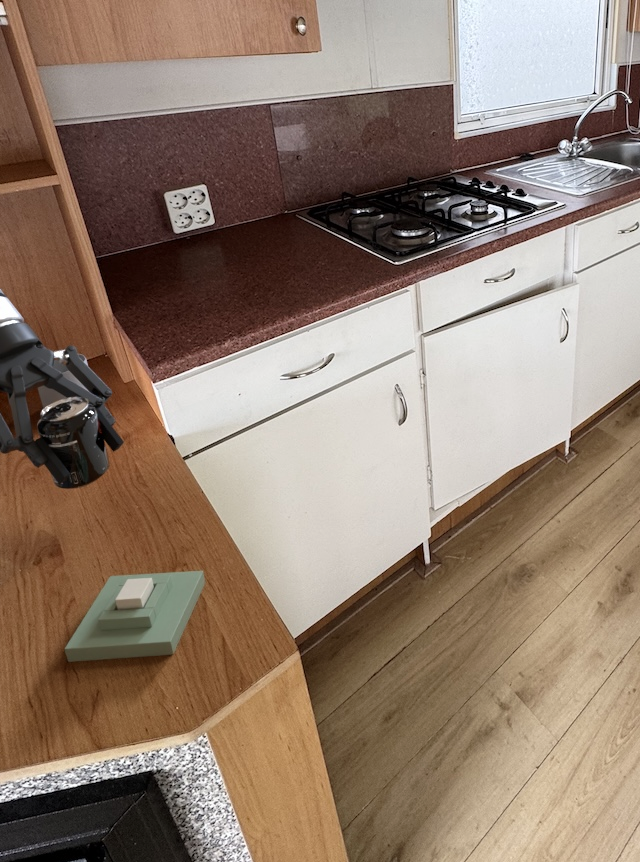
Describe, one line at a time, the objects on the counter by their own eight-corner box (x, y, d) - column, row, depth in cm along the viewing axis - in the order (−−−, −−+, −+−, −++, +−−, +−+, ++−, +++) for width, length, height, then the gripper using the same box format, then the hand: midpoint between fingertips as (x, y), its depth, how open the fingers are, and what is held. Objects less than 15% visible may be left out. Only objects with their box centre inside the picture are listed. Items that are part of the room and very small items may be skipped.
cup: (104, 394, 120) (93, 352, 117) (84, 418, 113) (73, 373, 109) (59, 397, 119) (47, 355, 116) (36, 422, 111) (22, 377, 108)
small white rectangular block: (117, 610, 71) (114, 600, 71) (130, 589, 74) (127, 578, 73) (143, 609, 71) (140, 598, 71) (154, 587, 74) (152, 577, 74)
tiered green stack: (68, 662, 69) (60, 638, 67) (113, 587, 78) (107, 565, 77) (173, 654, 70) (167, 631, 68) (205, 582, 79) (201, 560, 78)
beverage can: (92, 456, 89) (75, 389, 85) (121, 469, 86) (104, 401, 82) (44, 484, 83) (22, 414, 79) (73, 500, 81) (52, 428, 77)
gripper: (62, 321, 93) (149, 433, 93) (-97, 381, 76) (7, 519, 76) (75, 297, 89) (165, 414, 89) (-89, 355, 73) (20, 500, 72)
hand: (92, 462), depth 82 cm, fingers closed on beverage can, 7 cm apart
